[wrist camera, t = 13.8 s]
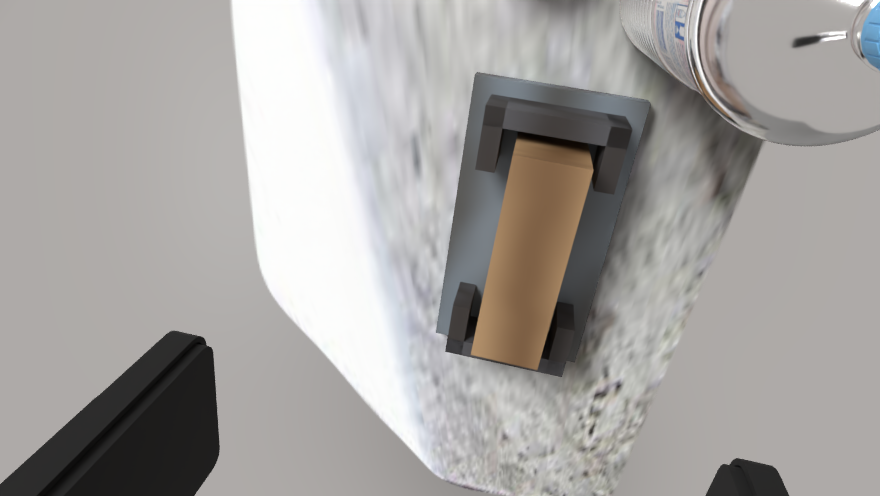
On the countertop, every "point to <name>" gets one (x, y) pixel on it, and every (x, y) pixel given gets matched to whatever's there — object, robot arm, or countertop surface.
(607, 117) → the dark grey holder
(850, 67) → the water bottle
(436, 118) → the countertop surface
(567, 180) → the tan brown block
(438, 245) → the countertop surface
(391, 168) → the countertop surface
